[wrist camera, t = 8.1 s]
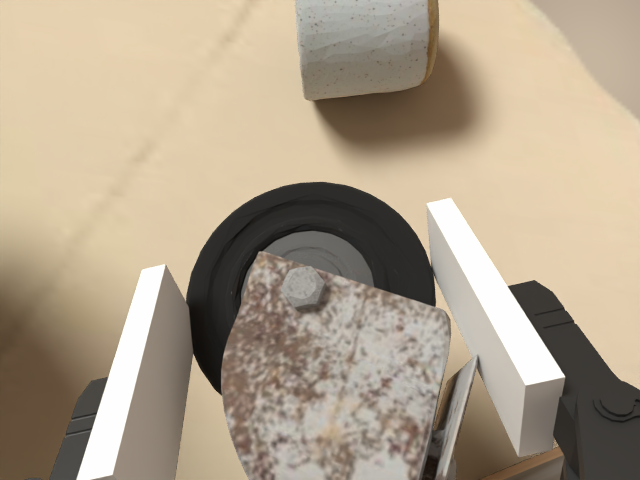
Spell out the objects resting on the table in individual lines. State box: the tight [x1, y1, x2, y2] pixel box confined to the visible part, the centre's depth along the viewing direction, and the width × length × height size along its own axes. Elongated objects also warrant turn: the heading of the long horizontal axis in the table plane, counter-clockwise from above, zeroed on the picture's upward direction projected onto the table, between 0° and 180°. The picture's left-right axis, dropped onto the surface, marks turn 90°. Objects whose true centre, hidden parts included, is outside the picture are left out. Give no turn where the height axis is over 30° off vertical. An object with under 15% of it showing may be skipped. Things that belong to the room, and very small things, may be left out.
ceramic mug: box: [295, 0, 439, 101], centre depth 29 cm, size 11×8×8 cm
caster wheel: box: [186, 182, 478, 480], centre depth 16 cm, size 7×11×10 cm
